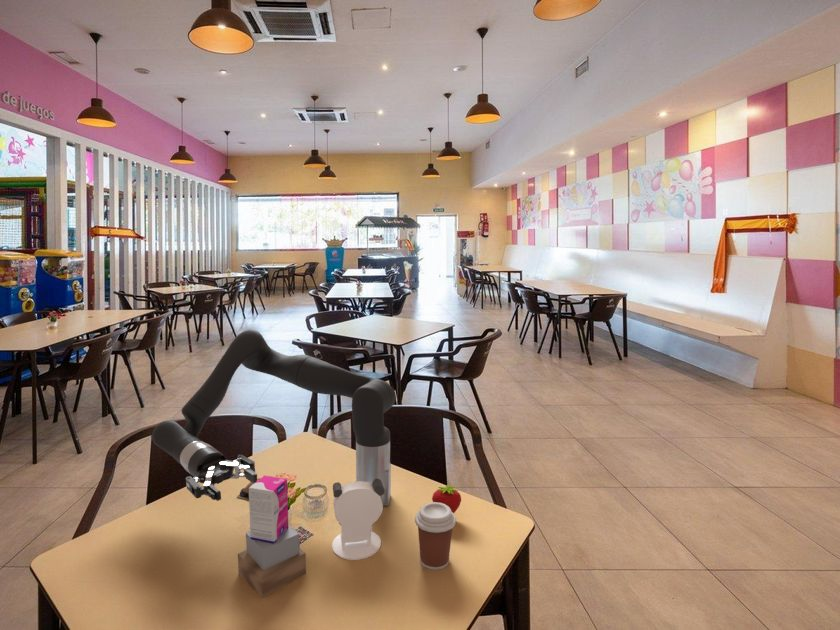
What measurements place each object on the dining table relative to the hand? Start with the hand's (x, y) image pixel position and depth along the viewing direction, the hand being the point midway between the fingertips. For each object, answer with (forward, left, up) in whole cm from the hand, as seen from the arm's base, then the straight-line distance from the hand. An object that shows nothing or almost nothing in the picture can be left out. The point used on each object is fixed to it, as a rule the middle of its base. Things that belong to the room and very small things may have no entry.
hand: (238, 487), depth 106 cm
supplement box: (-9, +6, -7) cm, 13 cm away
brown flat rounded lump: (+6, -28, -17) cm, 33 cm away
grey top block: (-10, +6, -11) cm, 16 cm away
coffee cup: (-44, 0, -16) cm, 47 cm away
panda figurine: (-26, -5, -16) cm, 31 cm away
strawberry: (-47, -17, -16) cm, 52 cm away
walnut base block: (-9, +6, -16) cm, 20 cm away
